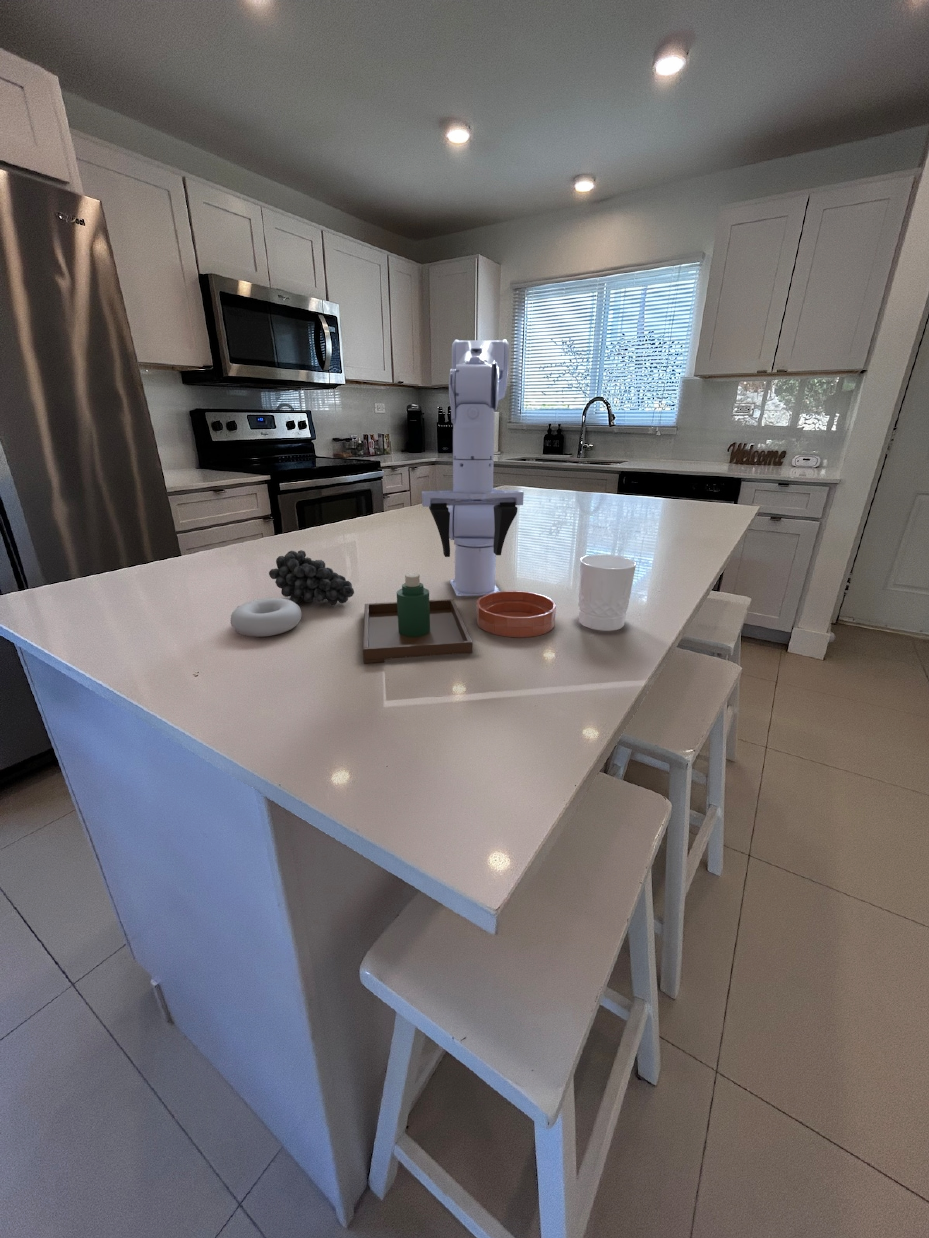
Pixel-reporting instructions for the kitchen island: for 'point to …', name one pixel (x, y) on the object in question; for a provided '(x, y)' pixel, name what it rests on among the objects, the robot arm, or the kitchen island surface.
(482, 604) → the bowl
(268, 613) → the donut
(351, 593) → the fruit
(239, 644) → the kitchen island surface
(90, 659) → the kitchen island surface
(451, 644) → the tray
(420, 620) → the bottle
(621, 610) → the white cup
